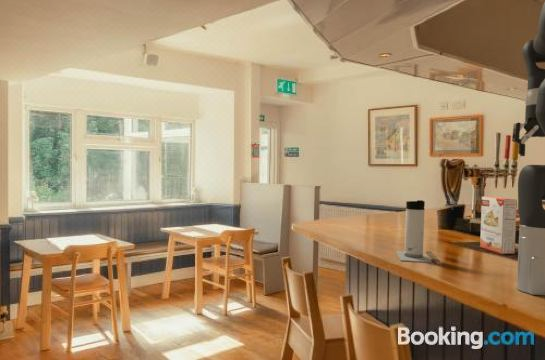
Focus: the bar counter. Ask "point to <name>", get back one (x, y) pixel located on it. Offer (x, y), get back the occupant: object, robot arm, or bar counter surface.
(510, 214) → the cracker box
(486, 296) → the bar counter surface
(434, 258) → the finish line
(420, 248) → the travel mug
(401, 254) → the mat
